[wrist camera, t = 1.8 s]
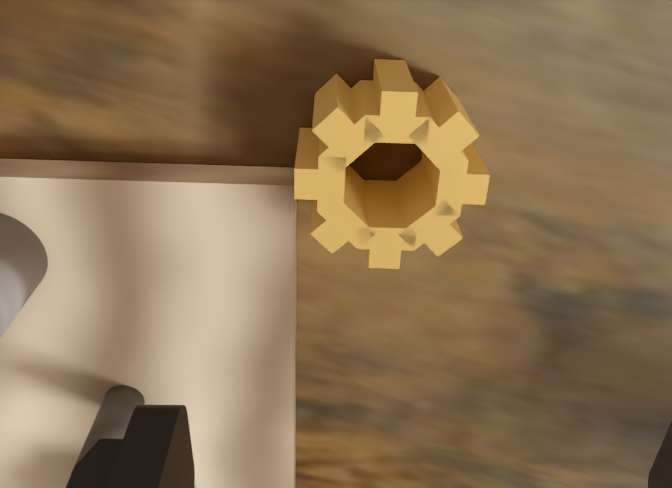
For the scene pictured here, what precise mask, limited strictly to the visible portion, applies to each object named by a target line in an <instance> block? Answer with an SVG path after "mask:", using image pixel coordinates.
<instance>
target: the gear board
mask: <svg viewBox="0 0 672 488" xmlns="http://www.w3.org/2000/svg"><path fill="white" fill-rule="evenodd" d="M296 206H297V199H294V168H292V167H260V166H228V165H195V164H163V163H130V162H98V161H65V160H33V159H0V488H66V486H67V483H68V481H69V479H70V476H71V474H72V472H73V469H74V467H75V465H76V464H77V463H78V462H79V461H80V460H81V459H82V458H83V457H84V455H85V454H86V453H87V452H88V451H89V450H90V449H91V448H92V447H93V446H94V445H95V443H96V442H97V441H98V440H99V439H123V438H124V435H125V432H126V429H127V427H128V424H129V421H130V418H131V416H132V413H133V411H134V409H135V407H136V406H137V405H185V406H186V409H187V414H188V422H189V429H190V437H191V445H192V453H193V460H194V470H195V482H194V486H196V488H295V471H296Z"/></svg>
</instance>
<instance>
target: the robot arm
mask: <svg viewBox="0 0 672 488" xmlns="http://www.w3.org/2000/svg"><path fill="white" fill-rule="evenodd" d="M194 482H195V470H194V460H193V453H192V445H191V437H190V429H189V422H188V414H187V409H186V406H185V405H137V406H136V407H135V409H134V411H133V413H132V416H131V418H130V421H129V424H128V427H127V429H126V432H125V435H124V438H123V439H99V440H98V441H97V442H96V443H95V445H94V446H93V447H92V448H91V449H90V450H89V451H88V452H87V453H86V454H85V455H84V457H83V458H82V459H81V460H80V461H79V462H78V463H77V464H76V465H75V467H74V469H73V472H72V474H71V476H70V479H69V481H68V483H67V486H66V488H194ZM648 488H672V422H671V425H670V427H669V429H668V431H667V434H666V436H665V438H664V441H663V443H662V445H661V448H660V450H659V452H658V454H657V457H656V459H655V461H654V464H653V466H652V468H651V471H650V473H649V478H648Z"/></svg>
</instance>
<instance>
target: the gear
mask: <svg viewBox="0 0 672 488" xmlns="http://www.w3.org/2000/svg"><path fill="white" fill-rule="evenodd" d="M479 136H480V135H479V134H478V132H477V130H476V128H475V127H474V125H473V123H472V121H471V120H470V118H469V116H468V114H467V113H466V111H465V109H464V107H463V106H462V104H461V102H460V101H459V99H458V97H457V96H456V95H455V94H454V93H453V92H452V90H451V89H450V88H449V87H448V86H447V84H446V83H445V82H444V81H443V80H442V79H441V77H439V78H438V79H436V80H435V81H434V82H433V83H432V84H431V85H430V86H428V87H427V88H426V89H425V90H424V91H423V90H422V89H421V88H420V87H419V85H418V84H417V83H416V82H414V81H413V79H412V76H411V74H410V71H409V69H408V66H407V64H406V61H405V60H388V59H374V70H373V80H360V81H359V82H358V83H357V84H355V85H354V86H353V87H352V88H350V87H349V86H348V85H347V83H346V82H345V81H344V80H343V79H342V78H341V77H340V76H339V75H338V74H337V73H336V74H335V75H334V76H333V77H332V78H331V79H330V80H329V81H328V82H327V83H326V84H325V85H323V86H322V87H321V88H320V89H319V90H318V91H317V92H316V93H315V98H314V110H313V123H312V128H303V127H300V129H299V137H298V145H297V153H296V160H295V168H294V199H304V200H312V212H311V229H310V234H311V235H312V236H313V237H314V238H315V239H316V240H317V241H318V242H320V243H321V244H322V245H323V246H324V247H325V248H326V249H327V250H328V251H329V252H331V253H332V254H333V253H334V252H335V251H336V250H338V249H339V248H340V247H341V246H343V245H344V244H345V243H346V242H348V241H349V242H350V243H351V244H352V245H353V246H354V247H355V248H356V249H367V257H368V268H388V269H399V268H400V258H401V250H408V251H414V250H416V249H417V248H418V247H420V246H421V245H422V244H424V243H425V244H426V245H427V246H428V247H429V248H430V249H431V250H432V251H433V252H434V253H435V254H436V255H437V256H440V255H441V254H443V253H444V252H445V251H447V250H448V249H449V248H451V247H452V246H453V245H455V244H456V243H457V242H459V241H460V240H462V239H463V237H462V234H461V231H460V228H459V226H458V223H457V220H456V219H457V218H458V217H460V214H461V207H462V204H472V205H485V201H486V196H487V190H488V184H489V179H490V173H489V172H488V170H487V168H486V166H485V164H484V162H483V160H482V158H481V157H480V155H479V153H478V151H477V149H476V147H475V145H474V143H473V141H474V140H475V139H477V138H478V137H479ZM375 142H378V143H409V144H416V145H417V146H418V147H419V148H420V149H421V150H422V158H421V161H420V162H419V163H418V164H416V165H415V166H414V167H413V168H411V169H410V170H409V171H408V172H406V173H405V174H404V175H403V176H402V177H400V178H399V179H398V180H397V181H382V180H363V179H362V178H361V177H360V176H359V175H358V173H357V172H356V171H355V170H354V169H353V168H352V167H351V166H350V165H349V164H351V163H352V162H353V161H354V160H355V159H356V158H358V157H359V156H360V155H361V154H362V153H363V152H365V151H366V150H367V149H368V148H369V147H370V146H372V145H373V144H374V143H375Z"/></svg>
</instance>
